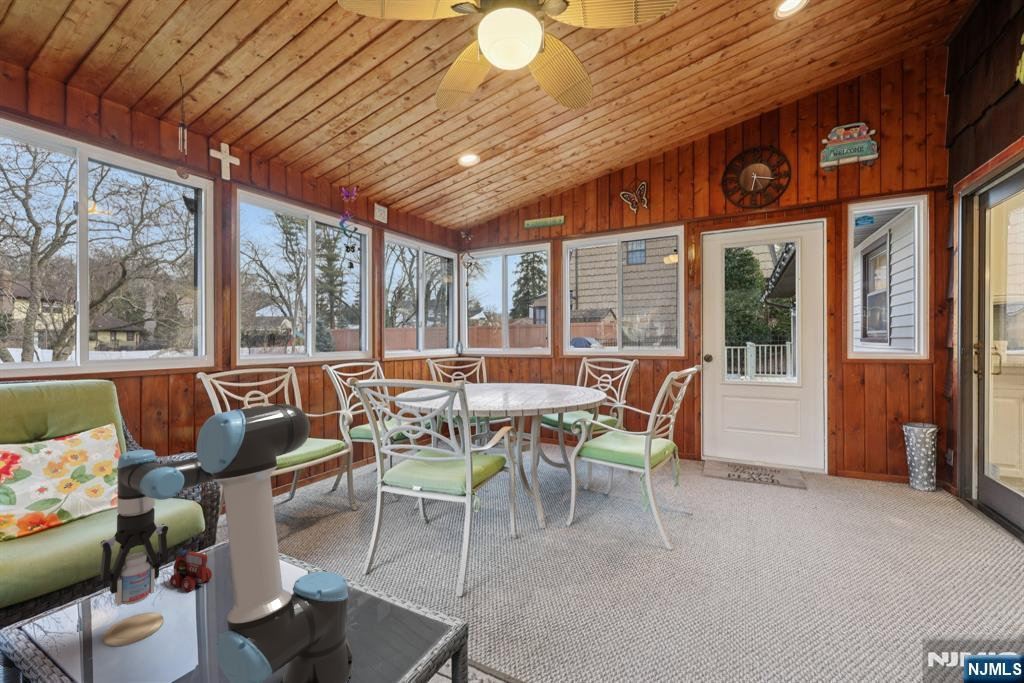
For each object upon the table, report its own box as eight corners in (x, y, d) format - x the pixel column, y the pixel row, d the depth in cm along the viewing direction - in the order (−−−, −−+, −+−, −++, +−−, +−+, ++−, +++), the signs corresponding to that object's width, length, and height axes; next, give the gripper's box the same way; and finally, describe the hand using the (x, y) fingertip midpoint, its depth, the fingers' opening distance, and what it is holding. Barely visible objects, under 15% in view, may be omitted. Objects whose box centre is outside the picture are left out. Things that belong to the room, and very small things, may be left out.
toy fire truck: (187, 574, 143) (187, 542, 143) (215, 582, 139) (216, 549, 139) (164, 585, 137) (165, 552, 136) (193, 594, 133) (194, 560, 133)
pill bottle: (132, 607, 113) (132, 564, 113) (113, 603, 114) (113, 560, 114) (155, 593, 119) (156, 552, 119) (137, 590, 120) (137, 549, 120)
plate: (169, 627, 118) (170, 624, 118) (110, 653, 108) (110, 649, 108) (154, 609, 125) (154, 606, 125) (97, 632, 115) (97, 628, 115)
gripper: (174, 496, 126) (173, 576, 126) (82, 518, 110) (81, 609, 111) (184, 503, 122) (183, 586, 122) (90, 526, 106) (89, 621, 107)
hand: (134, 597), depth 116 cm, fingers closed on pill bottle, 6 cm apart
